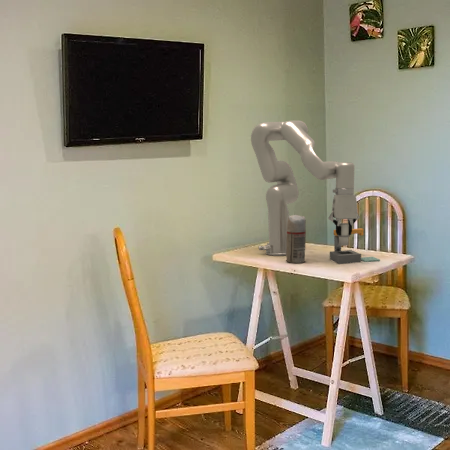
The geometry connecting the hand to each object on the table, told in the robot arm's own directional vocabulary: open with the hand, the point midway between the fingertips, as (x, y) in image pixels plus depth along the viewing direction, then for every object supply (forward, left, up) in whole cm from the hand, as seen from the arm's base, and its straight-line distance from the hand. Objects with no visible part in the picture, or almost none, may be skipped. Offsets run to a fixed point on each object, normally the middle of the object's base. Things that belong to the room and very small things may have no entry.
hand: (343, 234), depth 283 cm
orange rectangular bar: (+5, +8, -2) cm, 10 cm away
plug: (0, 0, -5) cm, 5 cm away
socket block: (0, 0, -11) cm, 12 cm away
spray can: (-20, +6, -12) cm, 24 cm away
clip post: (0, +8, -11) cm, 14 cm away
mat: (+10, -2, -11) cm, 16 cm away
